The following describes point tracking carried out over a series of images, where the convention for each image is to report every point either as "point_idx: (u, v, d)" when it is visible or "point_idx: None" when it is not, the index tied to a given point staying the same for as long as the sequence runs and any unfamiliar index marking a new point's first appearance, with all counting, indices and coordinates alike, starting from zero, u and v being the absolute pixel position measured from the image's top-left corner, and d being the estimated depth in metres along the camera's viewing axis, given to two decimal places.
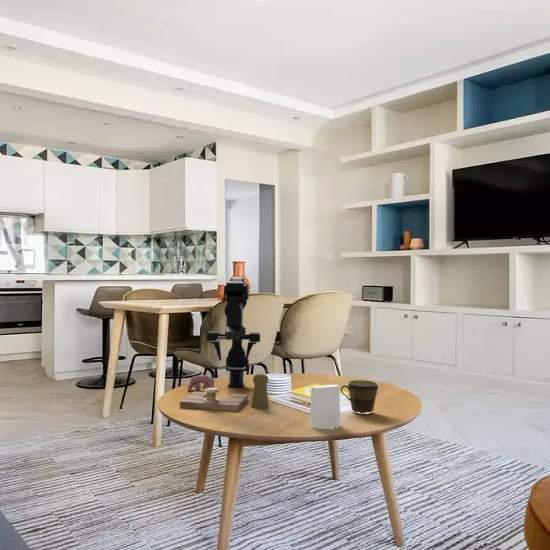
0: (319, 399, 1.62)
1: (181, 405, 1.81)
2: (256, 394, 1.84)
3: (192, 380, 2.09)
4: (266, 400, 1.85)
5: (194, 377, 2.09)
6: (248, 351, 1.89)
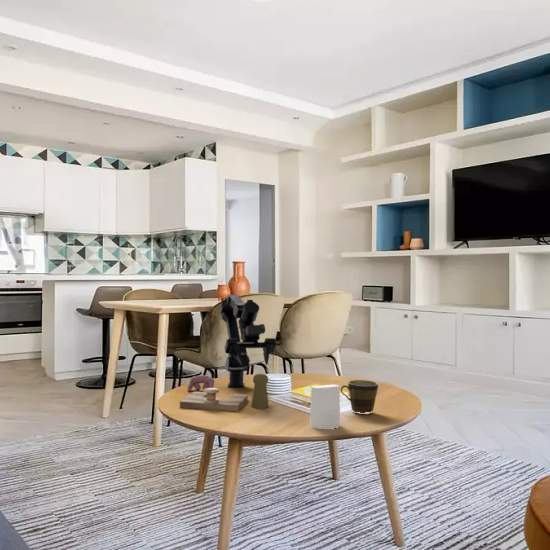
0: (319, 399, 1.62)
1: (181, 405, 1.81)
2: (256, 394, 1.84)
3: (192, 380, 2.08)
4: (266, 400, 1.85)
5: (194, 377, 2.09)
6: (267, 353, 1.96)
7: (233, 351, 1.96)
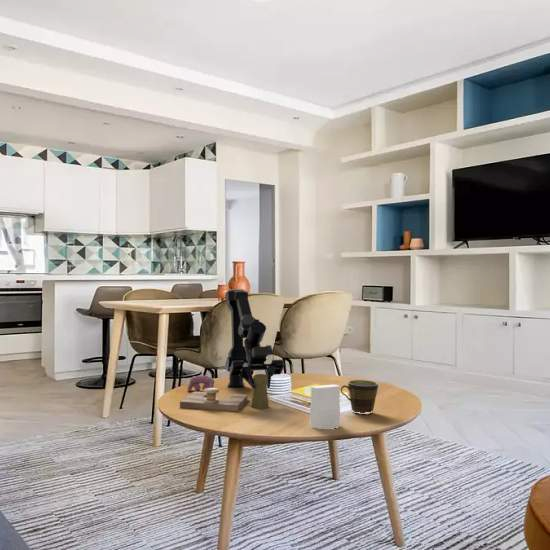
0: (319, 399, 1.62)
1: (181, 405, 1.81)
2: (256, 394, 1.84)
3: (192, 380, 2.08)
4: (266, 400, 1.85)
5: (194, 377, 2.09)
6: (269, 376, 1.87)
7: (244, 373, 1.88)
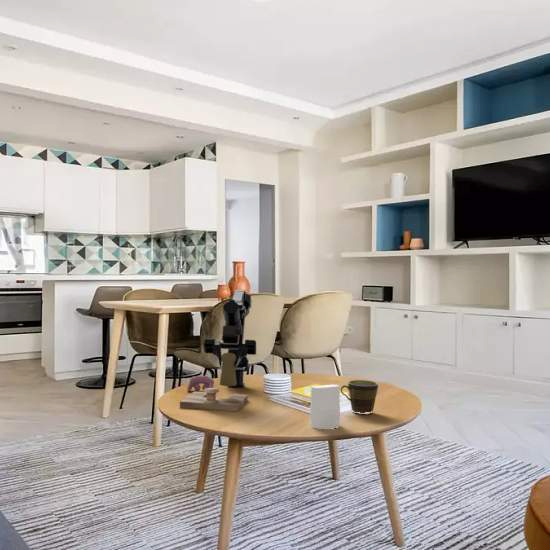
0: (319, 399, 1.62)
1: (181, 405, 1.81)
2: (222, 372, 1.88)
3: (191, 381, 2.07)
4: (232, 378, 1.88)
5: (193, 377, 2.08)
6: (238, 355, 1.90)
7: (216, 351, 1.93)
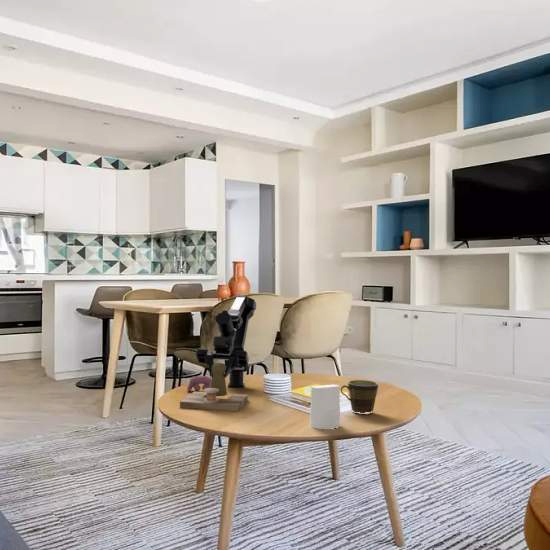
0: (319, 399, 1.62)
1: (181, 405, 1.81)
2: (212, 382, 1.90)
3: (191, 381, 2.07)
4: (221, 389, 1.90)
5: (193, 378, 2.08)
6: (228, 366, 1.92)
7: None
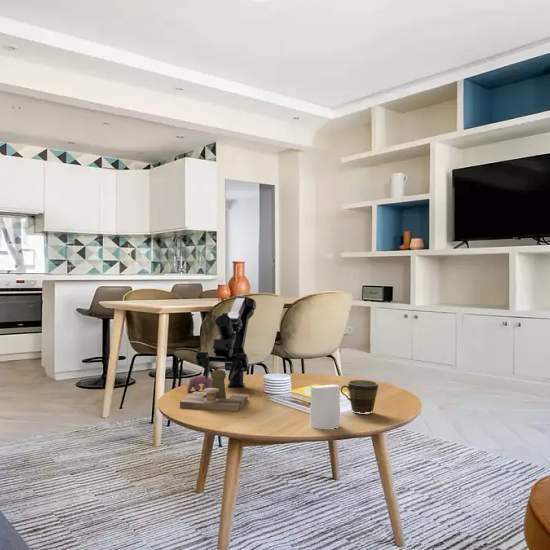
0: (319, 399, 1.62)
1: (181, 405, 1.81)
2: None
3: (191, 381, 2.07)
4: (221, 395, 1.89)
5: (193, 378, 2.08)
6: (232, 369, 1.91)
7: None
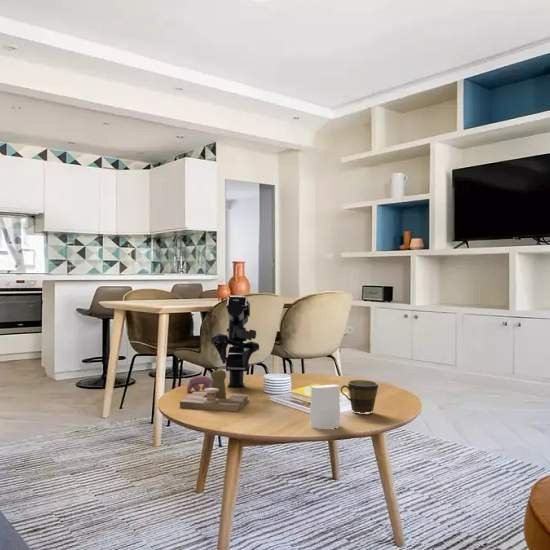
0: (319, 399, 1.62)
1: (181, 405, 1.81)
2: None
3: (191, 381, 2.07)
4: (221, 395, 1.89)
5: (193, 378, 2.07)
6: (248, 357, 2.04)
7: (219, 345, 2.00)
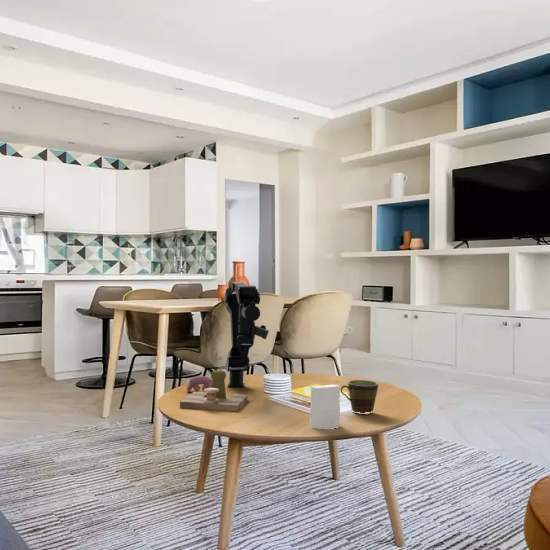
0: (319, 399, 1.62)
1: (181, 405, 1.81)
2: None
3: (191, 381, 2.06)
4: (221, 396, 1.89)
5: (193, 378, 2.07)
6: None
7: (243, 345, 1.96)
